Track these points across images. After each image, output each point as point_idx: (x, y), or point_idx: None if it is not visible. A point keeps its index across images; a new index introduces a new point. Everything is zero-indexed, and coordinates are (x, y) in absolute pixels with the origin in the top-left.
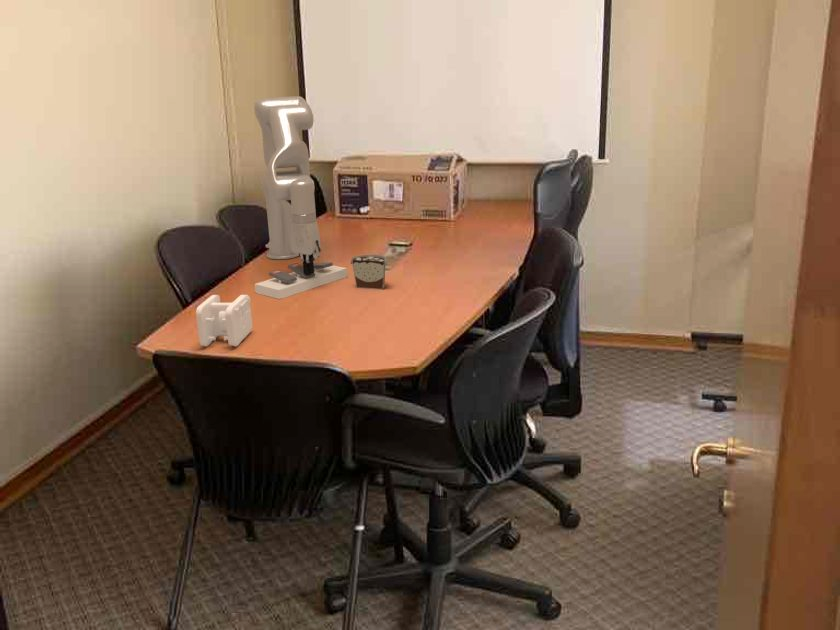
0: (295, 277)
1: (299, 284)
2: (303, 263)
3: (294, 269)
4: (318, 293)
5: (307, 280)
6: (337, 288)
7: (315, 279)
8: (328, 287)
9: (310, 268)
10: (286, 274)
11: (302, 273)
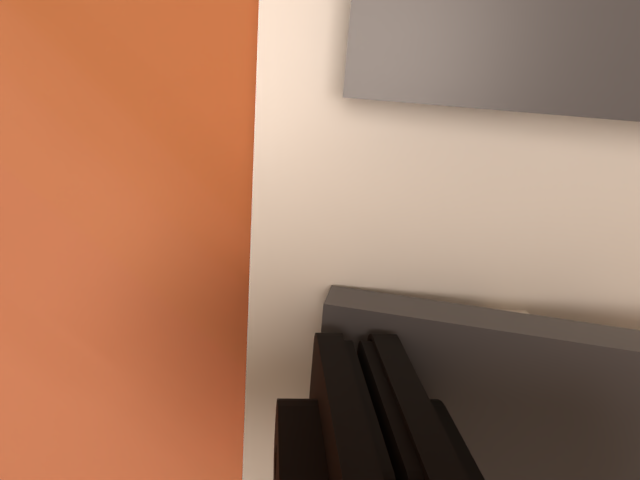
0: (362, 79)
1: (257, 69)
2: (441, 472)
3: (627, 347)
4: (29, 163)
5: (267, 256)
6: (14, 404)
7: (246, 371)
8: (128, 381)
9: (279, 449)
10: (608, 67)
11: (427, 333)
